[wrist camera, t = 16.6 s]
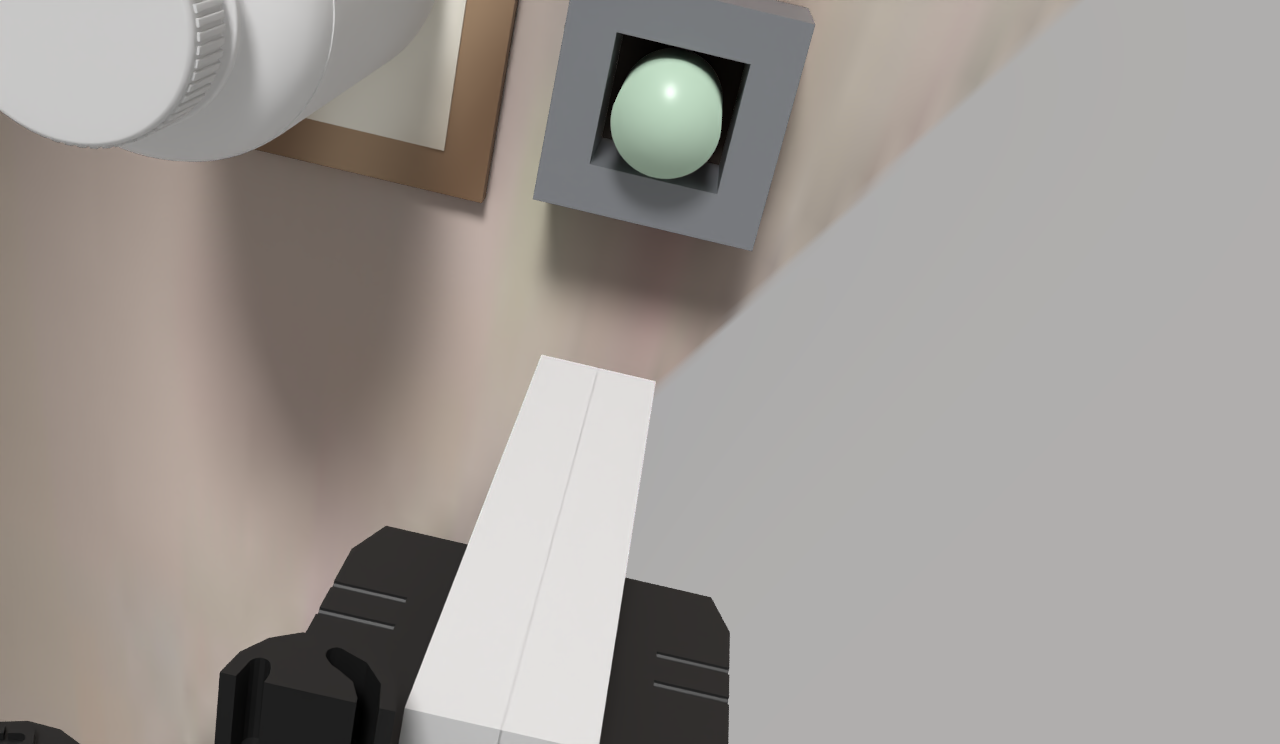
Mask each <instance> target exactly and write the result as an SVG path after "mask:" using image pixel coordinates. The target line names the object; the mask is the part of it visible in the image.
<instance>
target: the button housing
mask: <svg viewBox="0 0 1280 744" xmlns="http://www.w3.org/2000/svg"><path fill="white" fill-rule="evenodd" d="M814 27H815V23H814V20H813V18H812V15H811V13H810V11H809V8H805V7H801V6H797V5H793V4H788V3H784V2H780V1H776V0H570V2H569V7H568V13H567V18H566V23H565V29H564V34H563V39H562V45H561V50H560V56H559V61H558V66H557V72H556V77H555V83H554V88H553V93H552V99H551V104H550V110H549V115H548V120H547V126H546V131H545V137H544V142H543V147H542V153H541V158H540V164H539V169H538V174H537V180H536V185H535V190H534V196H533V199H534V200H539V201H543V202H547V203H551V204H555V205H560V206H564V207H568V208H572V209H576V210H581V211H585V212H589V213H593V214H598V215H602V216H606V217H610V218H614V219H619V220H623V221H627V222H631V223H635V224H640V225H644V226H648V227H652V228H657V229H661V230H665V231H669V232H673V233H678V234H682V235H686V236H690V237H695V238H699V239H703V240H707V241H711V242H716V243H720V244H724V245H728V246H732V247H737V248H741V249H745V250H749V251H752V250H753V246H754V243H755V239H756V235H757V232H758V228H759V225H760V221H761V217H762V214H763V210H764V207H765V203H766V200H767V196H768V192H769V189H770V185H771V182H772V178H773V174H774V171H775V167H776V164H777V160H778V156H779V153H780V149H781V146H782V142H783V138H784V135H785V131H786V128H787V124H788V121H789V117H790V113H791V110H792V106H793V103H794V99H795V95H796V92H797V88H798V85H799V81H800V77H801V74H802V70H803V67H804V63H805V59H806V56H807V52H808V49H809V45H810V41H811V38H812V34H813V31H814ZM623 34H627V35H631V36H635V37H639V38H643V39H647V40H651V41H656V42H660V43H664V44H668V45H672V46H676V47H681V48H685V49H689V50H693V51H697V52H701V53H705V54H710V55H714V56H718V57H722V58H726V59H730V60H735V61H739V62H743V63H745V65H744V69H743V73H742V77H741V81H740V85H739V89H738V93H737V97H736V100H735V104H734V108H733V112H732V116H731V120H730V124H729V128H728V132H727V136H726V140H725V143H724V147H723V151H722V155H721V159H720V163H719V165H716V164H712V163H708V162H706V163H705V164H703V165H702V166H701V167H700V168H699V169H697V170H696V171H694V172H692V173H690V174H688V175H685V176H683V177H678V178H673V179H660V178H654V177H650V176H647V175H645V174H643V173H640V172H639V171H637V170H636V169H634V168H633V167H631V166H630V165H629V164H628V163H627V162H626V161H625V160H624V159H623V157H622V156H621V155H620V153H619V152H618V150H617V148H616V146H615V143H614V141H613V140H611V139H607V138H603V137H602V135H603V130H604V126H605V121H606V116H607V111H608V106H609V101H610V97H611V92H612V87H613V82H614V77H615V73H616V68H617V63H618V58H619V53H620V49H621V44H622V39H623Z"/></svg>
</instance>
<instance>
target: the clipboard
mask: <svg viewBox="0 0 1280 744" xmlns="http://www.w3.org/2000/svg"><path fill="white" fill-rule="evenodd" d="M517 4H518V0H435V1H434V4H433V6H432V9H431V11H430V13H429V15H428V17H427V19H426V21H425V22H424V24H423V26H422V27H421V29H420V30H419V32H418V33H417V34H416V36H415V37H414V38H413V40H412V41H411V42H410V43H409V44H408V45H407V46H406V47H405V48H404V49H403V50H402V51H401V52H400V53H399V54H398V55H397V56H395V57H394V58H393V59H391V60H390V61H389V62H387V63H386V64H384V65H383V66H381V67H380V68H378V69H377V70H375V71H374V72H372V73H371V74H370V75H368V76H367V77H365V78H364V79H362V80H361V81H359V82H358V83H356V84H355V85H353V86H352V87H350V88H349V89H347V90H346V91H345V92H343V93H342V94H340V95H339V96H337V97H336V98H334V99H333V100H331V101H330V102H328V103H327V104H325V105H324V106H322V107H321V108H319V109H318V110H317V111H315V112H314V113H312V114H311V115H309V116H308V117H306V118H305V119H303V120H302V121H300V122H299V123H297V124H296V125H294V126H293V127H292V128H290V129H289V130H287V131H286V132H284V133H283V134H281V135H280V136H278V137H276V138H275V139H273V140H271V141H270V142H268V143H266V144H264V145H262V146H260V147H258V148H256V149H255V150H260V151H264V152H268V153H272V154H277V155H281V156H285V157H289V158H293V159H298V160H302V161H306V162H310V163H315V164H319V165H323V166H327V167H331V168H336V169H340V170H344V171H348V172H353V173H357V174H361V175H365V176H369V177H374V178H378V179H382V180H386V181H391V182H395V183H399V184H403V185H407V186H412V187H416V188H420V189H424V190H429V191H433V192H437V193H441V194H445V195H450V196H454V197H458V198H462V199H466V200H471V201H475V202H479V203H482V202H483V200H484V199H485V196H486V190H487V184H488V178H489V172H490V166H491V160H492V154H493V148H494V142H495V136H496V130H497V124H498V118H499V112H500V106H501V100H502V94H503V88H504V82H505V76H506V70H507V64H508V58H509V52H510V46H511V40H512V34H513V28H514V22H515V16H516V10H517Z"/></svg>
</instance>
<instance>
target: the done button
mask: <svg viewBox="0 0 1280 744" xmlns="http://www.w3.org/2000/svg"><path fill="white" fill-rule="evenodd" d="M722 108H723V92H722V87H721V83H720V81H719V78H718V76H717V74H716V72H715V71H714V69H713V68H712V67H711V66H710V64H709V63H708V62H707V61H706V60H704V59H703V58H702V57H700V56H699V55H697V54H695V53H693V52H691V51H688V50H685V49H680V48H664V49H660V50H656V51H654V52H651V53H649V54H647V55H646V56H644V57H643V58H641V59H640V60H639V61H638V62H637V63H636V64H635V65H634V66H633V67H632V69H631V70H630V72H629V73H628V75H627V77H626V79H625V81H624V83H623V85H622V88H621V90H620V92H619V94H618V96H617V98H616V100H615V103H614V105H613V109H612V113H611V134H612V137H613V141H614V143H615V146H616V148H617V150H618V152H619V153H620V155H621V156H622V157H623V159H624V160H625V161H626V162H627V163H628V164H629V165H630V166H631V167H633V168H634V169H636V170H637V171H639V172H640V173H643V174H645V175H647V176H650V177H654V178H660V179H673V178H678V177H683V176H685V175H688V174H690V173H692V172H694V171H696V170H697V169H699V168H700V167H701V166H702V165H703V164H705V163H706V162H707V160H708V159H709V158H710V157H711V155H712V154H713V152H714V151H715V149H716V147H717V144H718V141H719V138H720V133H721V124H722Z"/></svg>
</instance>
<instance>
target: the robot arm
mask: <svg viewBox="0 0 1280 744" xmlns="http://www.w3.org/2000/svg"><path fill="white" fill-rule="evenodd" d="M655 382H656V381H652V380H648V379H643V378H639V377H635V376H631V375H626V374H622V373H618V372H613V371H609V370H605V369H601V368H596V367H592V366H588V365H584V364H579V363H575V362H571V361H567V360H562V359H558V358H554V357H549V356H545V355H541V357H540V360H539V362H538V365H537V368H536V370H535V373H534V375H533V378H532V381H531V383H530V386H529V388H528V391H527V393H526V396H525V399H524V401H523V404H522V406H521V409H520V412H519V414H518V417H517V419H516V422H515V424H514V427H513V430H512V432H511V435H510V437H509V440H508V443H507V445H506V448H505V450H504V453H503V455H502V458H501V461H500V463H499V466H498V468H497V471H496V473H495V476H494V479H493V481H492V484H491V486H490V489H489V492H488V494H487V497H486V499H485V502H484V504H483V507H482V510H481V512H480V515H479V517H478V520H477V523H476V525H475V528H474V530H473V533H472V535H471V538H470V541H469V543H468V545H467V544H463V543H458V542H454V541H450V540H445V539H441V538H437V537H432V536H428V535H424V534H419V533H415V532H411V531H406V530H402V529H398V528H393V527H389V526H385V527H384V528H382V529H381V530H379V531H378V532H376V533H375V534H373V535H372V536H370V537H369V538H367V539H366V540H364V541H363V542H361V543H360V544H358V545H357V546H355V547H354V548H353V549H352V550H351V551H350V553H349V555H348V557H347V559H346V560H345V562H344V564H343V566H342V568H341V570H340V571H339V573H338V575H337V577H336V579H335V580H334V584H333V587H331V588H330V590H329V591H328V593H327V595H326V597H325V599H324V600H323V602H322V604H321V606H320V609H319V612H318V614H316V615H315V617H314V619H313V621H312V622H311V624H310V626H309V628H308V630H307V631H306V633H303V632H302V633H296V634H290V635H284V636H278V637H272V638H268V639H266V640H264V641H262V642H260V643H257V644H255V645H253V646H251V647H249V648H247V649H245V650H243V651H240V652H239V653H238V654H237V655H236V656H235V657H234V658H233V659H232V660H231V661H230V662H229V663H228V664H227V665H226V667H225V668H224V669H223V670H222V671H221V672H220V678H219V691H218V704H217V718H216V731H215V744H728V727H729V721H728V720H729V705H728V698H729V675H728V671H729V646H730V644H729V643H730V642H729V641H730V633H729V630H728V628H727V626H726V625H725V623H724V621H723V619H722V617H721V615H720V613H719V612H718V610H717V608H716V606H715V604H714V602H713V600H712V599H711V597H707V596H703V595H698V594H694V593H690V592H685V591H681V590H677V589H672V588H668V587H664V586H659V585H655V584H651V583H646V582H642V581H638V580H633V579H629V578H625V575H626V568H627V562H628V556H629V549H630V543H631V536H632V529H633V523H634V517H635V510H636V504H637V498H638V492H639V485H640V479H641V472H642V466H643V459H644V452H645V447H646V440H647V433H648V427H649V421H650V415H651V408H652V402H653V395H654V389H655ZM0 744H79V743H78V742H77V741H75V740H74V739H73V738H71V737H70V736H68V735H67V734H66V733H64V732H63V731H62V730H60V729H57V728H53V727H49V726H45V725H41V724H37V723H33V722H30V721H12V722H0Z"/></svg>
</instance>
